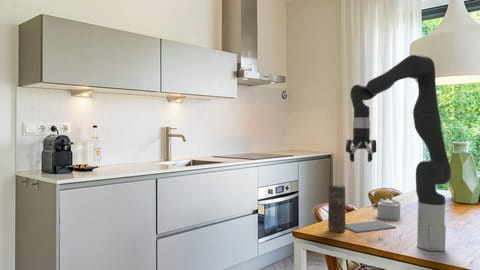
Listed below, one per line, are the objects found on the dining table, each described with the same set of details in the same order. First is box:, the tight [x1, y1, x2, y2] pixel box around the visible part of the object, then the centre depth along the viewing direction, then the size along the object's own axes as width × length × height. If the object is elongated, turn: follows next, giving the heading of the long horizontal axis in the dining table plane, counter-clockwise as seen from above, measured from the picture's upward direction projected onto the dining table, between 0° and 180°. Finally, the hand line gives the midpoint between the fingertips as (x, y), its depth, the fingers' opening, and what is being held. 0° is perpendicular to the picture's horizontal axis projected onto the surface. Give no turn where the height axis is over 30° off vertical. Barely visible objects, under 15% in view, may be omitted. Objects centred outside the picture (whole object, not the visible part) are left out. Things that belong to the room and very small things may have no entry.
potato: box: [372, 188, 393, 207], centre depth 222 cm, size 10×12×10 cm
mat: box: [345, 220, 397, 233], centre depth 174 cm, size 22×12×1 cm, turn 112°
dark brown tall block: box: [327, 184, 346, 233], centre depth 167 cm, size 8×7×20 cm
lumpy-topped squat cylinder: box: [376, 198, 401, 221], centre depth 195 cm, size 10×13×9 cm
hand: (360, 161), depth 180 cm, fingers open, 8 cm apart
